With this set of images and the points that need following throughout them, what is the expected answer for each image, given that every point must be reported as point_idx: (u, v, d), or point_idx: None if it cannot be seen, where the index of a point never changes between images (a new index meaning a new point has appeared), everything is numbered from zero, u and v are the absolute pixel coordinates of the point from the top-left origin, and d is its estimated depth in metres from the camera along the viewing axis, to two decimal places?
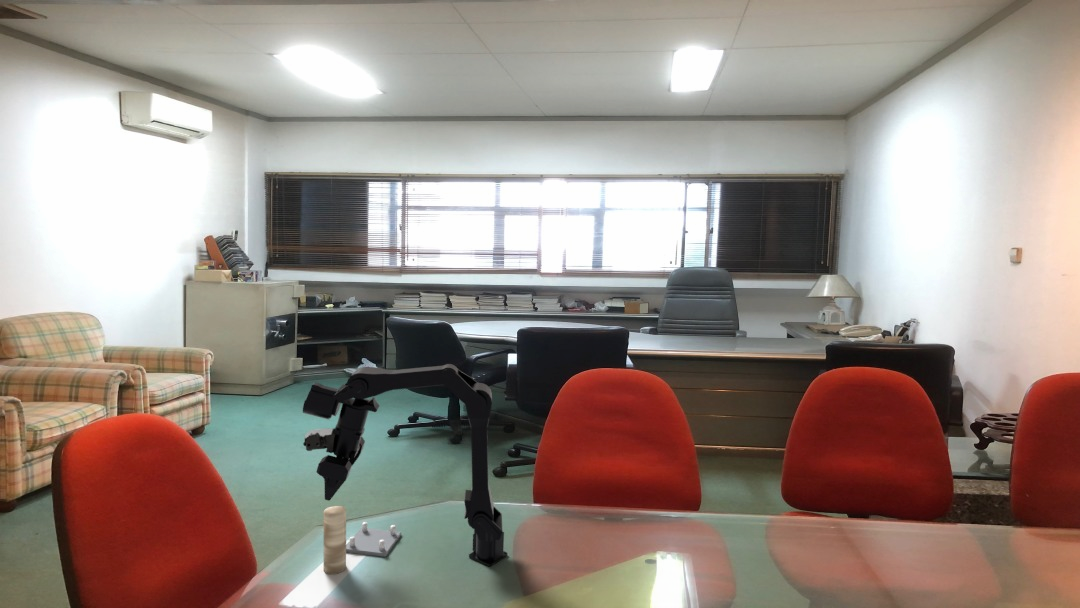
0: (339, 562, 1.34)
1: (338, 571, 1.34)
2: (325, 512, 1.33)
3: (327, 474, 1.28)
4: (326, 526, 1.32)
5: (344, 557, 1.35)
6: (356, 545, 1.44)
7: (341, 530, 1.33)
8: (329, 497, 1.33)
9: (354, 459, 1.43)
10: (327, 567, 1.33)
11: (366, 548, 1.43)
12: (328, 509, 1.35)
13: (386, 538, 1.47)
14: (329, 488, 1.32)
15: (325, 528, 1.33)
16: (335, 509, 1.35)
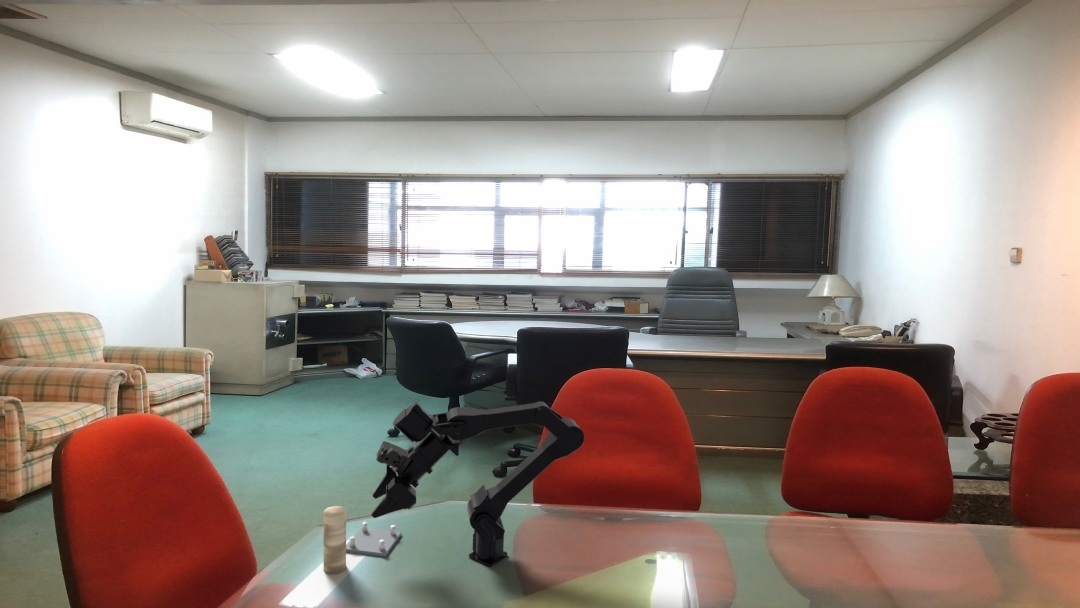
0: (339, 562, 1.34)
1: (338, 571, 1.34)
2: (325, 512, 1.33)
3: (397, 497, 1.27)
4: (326, 526, 1.32)
5: (344, 557, 1.35)
6: (356, 545, 1.44)
7: (341, 530, 1.33)
8: (377, 515, 1.31)
9: None
10: (327, 567, 1.33)
11: (366, 548, 1.43)
12: (328, 509, 1.35)
13: (386, 538, 1.47)
14: (383, 507, 1.31)
15: (325, 528, 1.33)
16: (335, 509, 1.35)
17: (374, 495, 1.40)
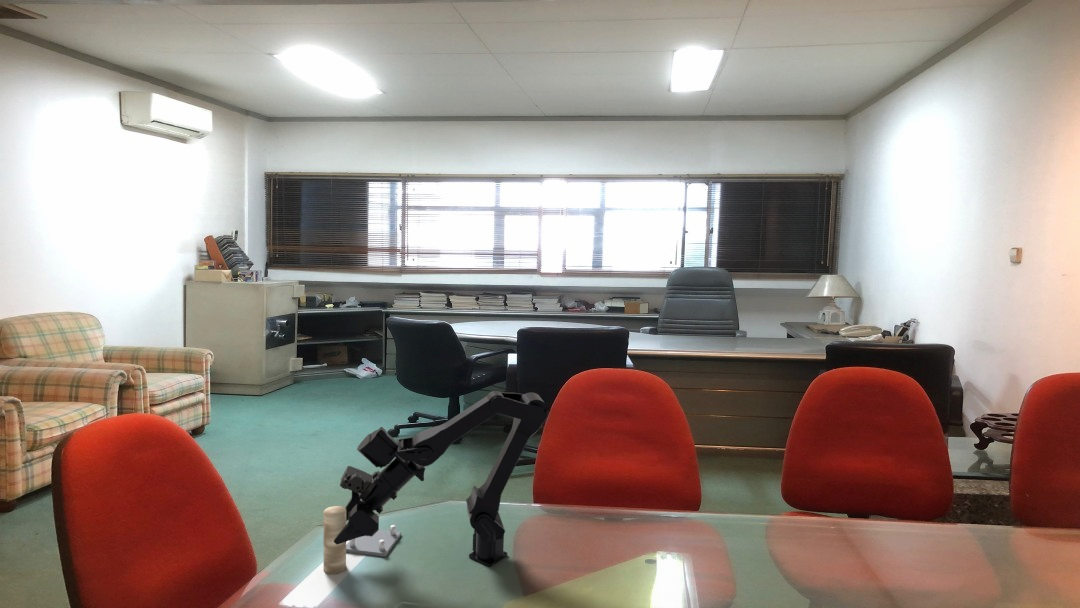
0: (339, 562, 1.34)
1: (338, 571, 1.34)
2: (325, 512, 1.33)
3: (359, 524, 1.26)
4: (326, 526, 1.32)
5: (344, 557, 1.35)
6: (356, 545, 1.44)
7: None
8: (339, 541, 1.30)
9: None
10: (327, 567, 1.33)
11: (366, 548, 1.43)
12: (328, 509, 1.35)
13: (386, 538, 1.47)
14: (346, 534, 1.29)
15: (325, 528, 1.33)
16: (335, 509, 1.35)
17: None
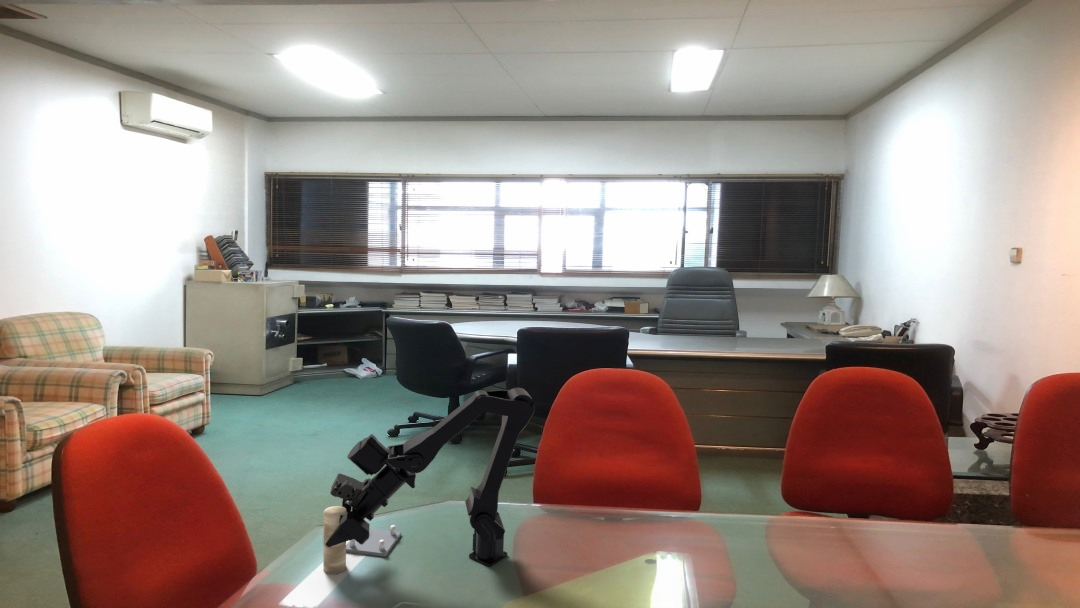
0: (339, 562, 1.34)
1: (338, 571, 1.34)
2: (325, 512, 1.33)
3: (349, 532, 1.26)
4: (326, 526, 1.32)
5: (344, 557, 1.35)
6: (356, 545, 1.44)
7: None
8: (331, 544, 1.32)
9: None
10: (327, 567, 1.33)
11: (366, 548, 1.43)
12: (328, 509, 1.35)
13: (386, 538, 1.47)
14: (337, 537, 1.31)
15: (325, 528, 1.33)
16: (335, 509, 1.35)
17: None
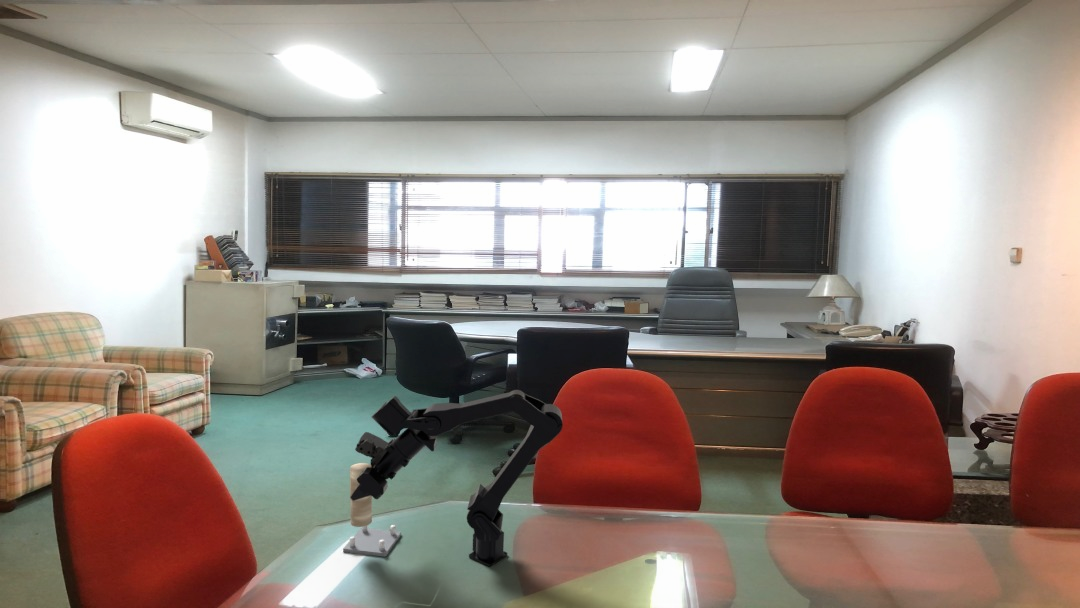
0: (363, 516, 1.40)
1: (362, 525, 1.40)
2: (351, 467, 1.40)
3: (365, 486, 1.32)
4: (351, 480, 1.39)
5: (369, 512, 1.41)
6: (356, 545, 1.44)
7: None
8: (355, 498, 1.39)
9: (384, 478, 1.44)
10: (353, 520, 1.40)
11: (366, 548, 1.43)
12: (356, 465, 1.42)
13: (386, 538, 1.47)
14: (360, 491, 1.38)
15: (351, 482, 1.40)
16: (362, 465, 1.41)
17: None
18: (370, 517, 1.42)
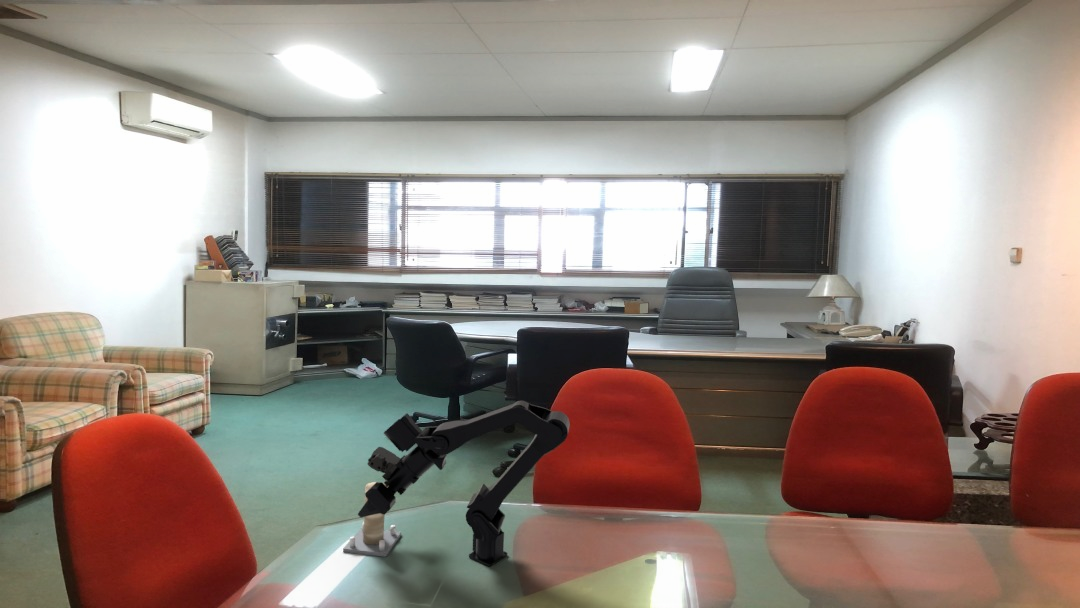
0: (375, 534, 1.44)
1: (373, 543, 1.44)
2: (367, 485, 1.45)
3: (372, 501, 1.35)
4: (365, 498, 1.44)
5: (380, 531, 1.45)
6: (356, 545, 1.44)
7: None
8: (362, 515, 1.40)
9: None
10: (364, 537, 1.44)
11: (366, 548, 1.43)
12: (371, 483, 1.46)
13: (386, 538, 1.47)
14: (366, 509, 1.39)
15: (365, 500, 1.44)
16: None
17: None
18: (381, 536, 1.45)
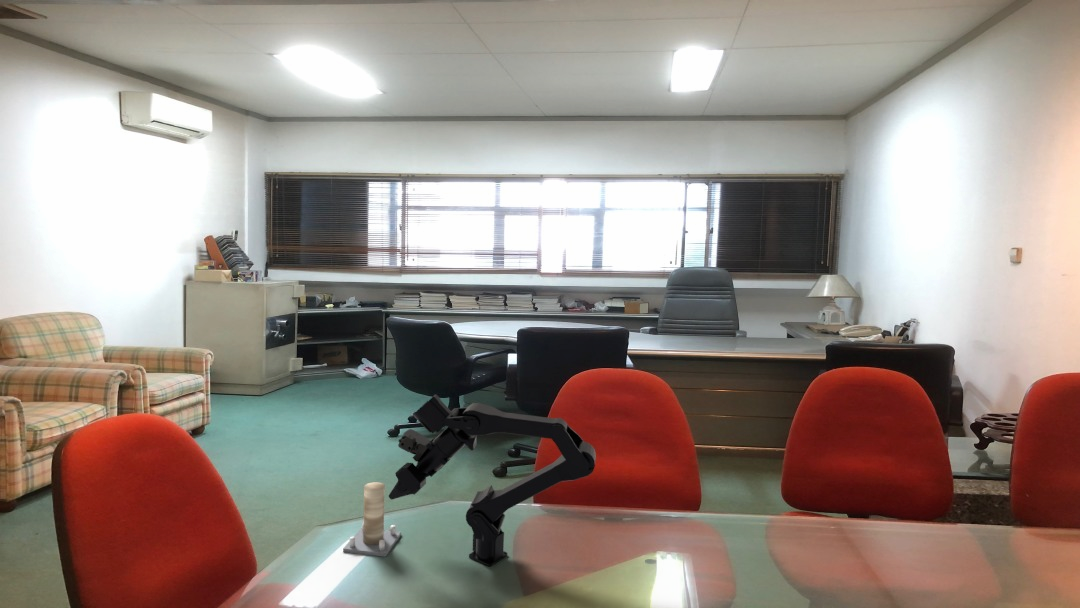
0: (374, 535, 1.44)
1: (373, 543, 1.44)
2: (366, 486, 1.45)
3: (402, 481, 1.34)
4: (365, 499, 1.44)
5: (380, 531, 1.45)
6: (356, 545, 1.44)
7: (377, 505, 1.43)
8: (392, 497, 1.39)
9: None
10: (364, 537, 1.44)
11: (366, 548, 1.43)
12: (370, 484, 1.46)
13: (386, 538, 1.47)
14: (397, 490, 1.38)
15: (364, 500, 1.44)
16: (376, 485, 1.46)
17: None
18: (381, 536, 1.45)
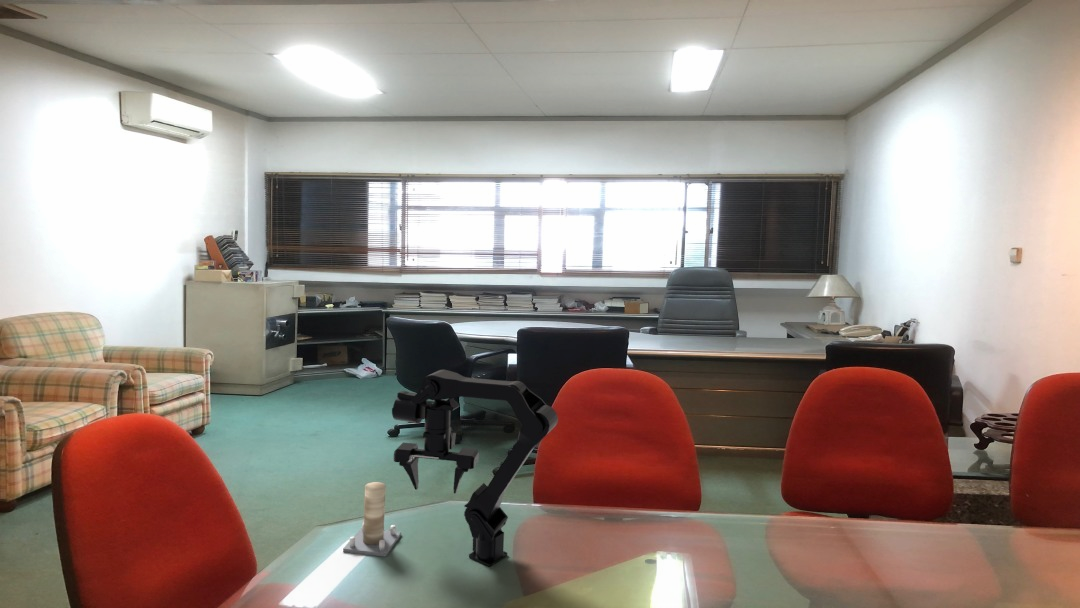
0: (375, 534, 1.44)
1: (373, 543, 1.44)
2: (366, 485, 1.45)
3: None
4: (365, 498, 1.44)
5: (380, 531, 1.45)
6: (356, 545, 1.44)
7: (378, 505, 1.44)
8: None
9: (455, 472, 1.42)
10: (365, 537, 1.44)
11: (366, 548, 1.43)
12: (371, 483, 1.46)
13: (386, 538, 1.47)
14: None
15: (365, 500, 1.44)
16: (376, 484, 1.46)
17: None
18: (381, 536, 1.46)
